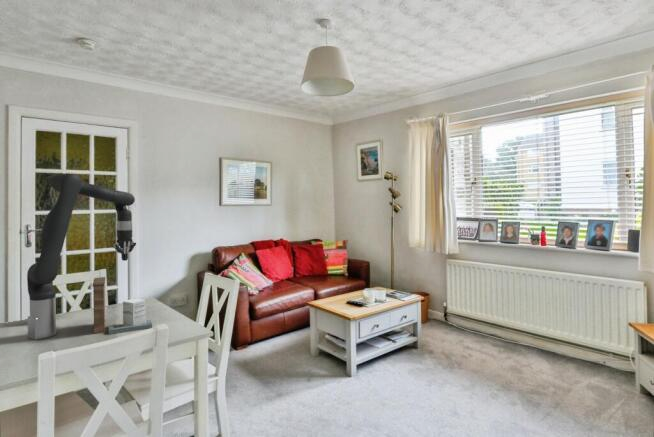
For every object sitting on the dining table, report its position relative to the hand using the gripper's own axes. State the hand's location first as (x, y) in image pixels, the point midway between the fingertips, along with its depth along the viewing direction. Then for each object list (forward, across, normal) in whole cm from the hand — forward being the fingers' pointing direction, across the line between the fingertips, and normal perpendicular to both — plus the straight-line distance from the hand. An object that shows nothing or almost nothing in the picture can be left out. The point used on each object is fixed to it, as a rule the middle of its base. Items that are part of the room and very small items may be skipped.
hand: (124, 260), depth 197 cm
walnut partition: (+29, -22, -13) cm, 39 cm away
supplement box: (+29, -13, -24) cm, 40 cm away
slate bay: (+29, -17, -27) cm, 43 cm away
